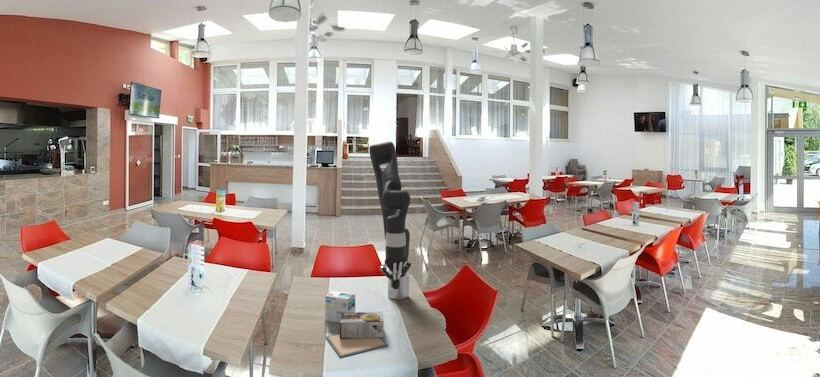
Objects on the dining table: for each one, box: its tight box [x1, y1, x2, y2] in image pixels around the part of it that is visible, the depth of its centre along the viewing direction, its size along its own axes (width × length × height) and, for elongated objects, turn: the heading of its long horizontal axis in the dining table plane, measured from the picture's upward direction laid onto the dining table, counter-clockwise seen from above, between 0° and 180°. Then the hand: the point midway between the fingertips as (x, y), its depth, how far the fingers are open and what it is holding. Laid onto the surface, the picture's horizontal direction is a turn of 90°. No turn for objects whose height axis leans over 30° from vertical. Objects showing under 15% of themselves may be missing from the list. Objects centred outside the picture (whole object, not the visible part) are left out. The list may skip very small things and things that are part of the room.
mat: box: [325, 333, 389, 359], centre depth 142 cm, size 18×16×1 cm
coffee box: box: [339, 311, 385, 339], centre depth 148 cm, size 9×6×16 cm
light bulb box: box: [324, 290, 356, 324], centre depth 160 cm, size 11×7×11 cm, turn 71°
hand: (395, 288), depth 148 cm, fingers closed
